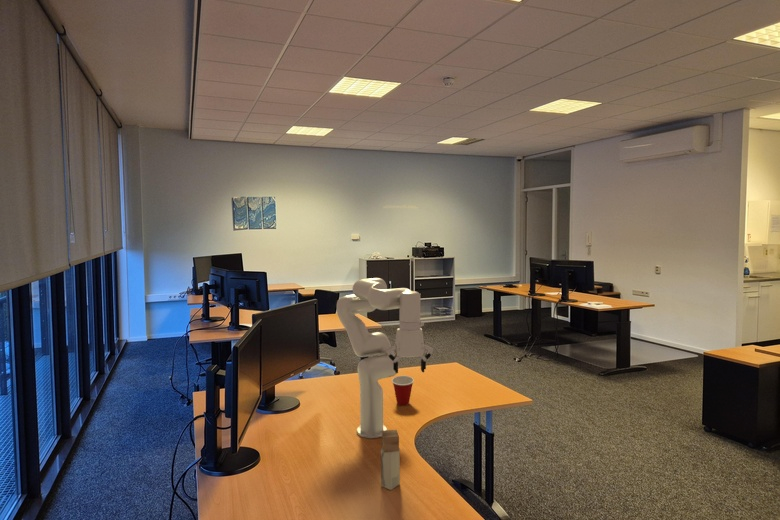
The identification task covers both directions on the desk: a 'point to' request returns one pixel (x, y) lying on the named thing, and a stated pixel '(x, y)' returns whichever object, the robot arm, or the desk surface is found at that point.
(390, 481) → the box
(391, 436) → the walnut cube
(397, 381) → the plastic cup
